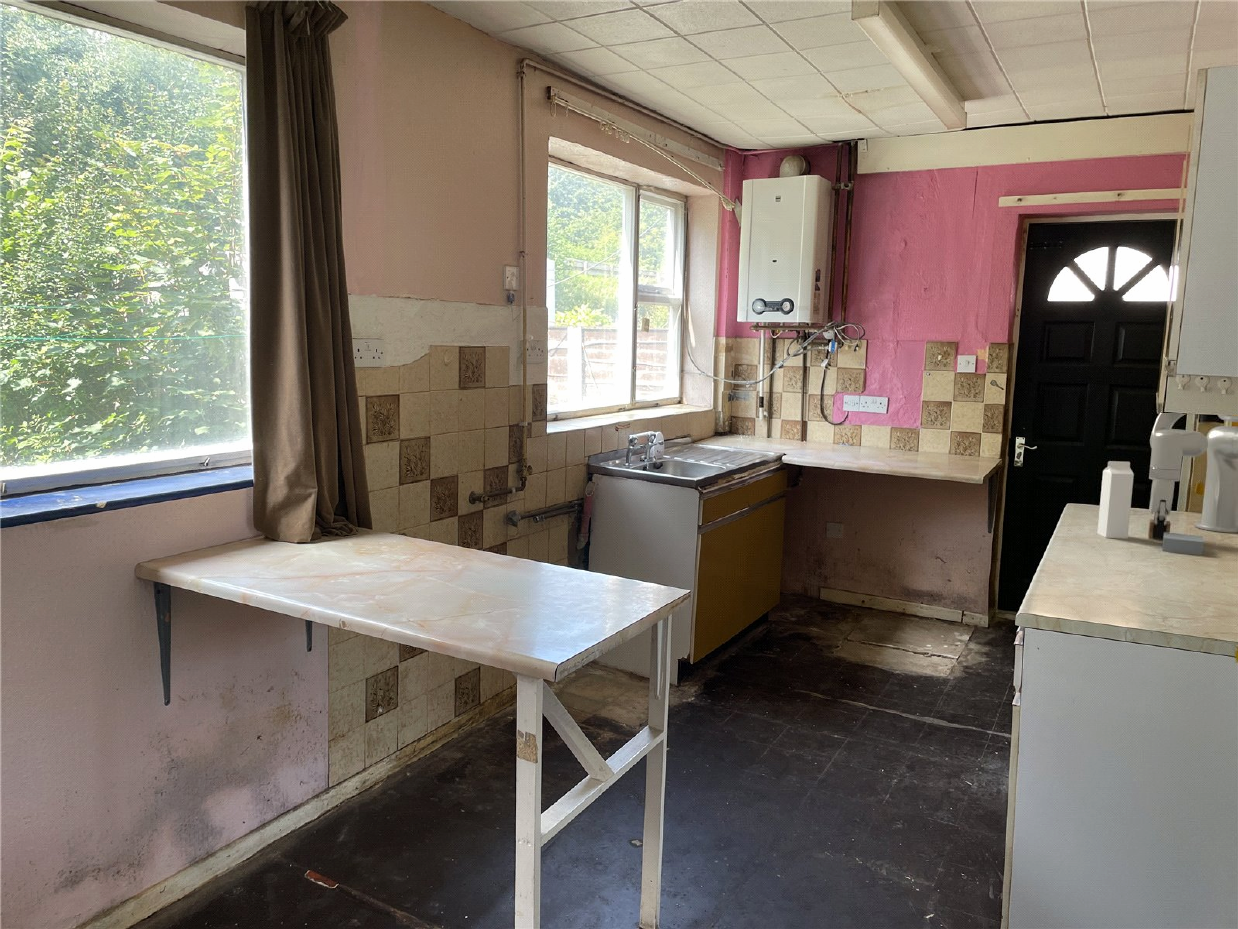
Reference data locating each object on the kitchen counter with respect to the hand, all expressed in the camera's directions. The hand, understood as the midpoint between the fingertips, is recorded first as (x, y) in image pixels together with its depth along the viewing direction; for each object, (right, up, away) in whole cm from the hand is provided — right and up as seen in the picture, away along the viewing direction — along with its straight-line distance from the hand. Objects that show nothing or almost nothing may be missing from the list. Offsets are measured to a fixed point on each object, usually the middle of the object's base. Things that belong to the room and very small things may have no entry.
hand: (1158, 535), depth 253 cm
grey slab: (-3, -3, -15) cm, 16 cm away
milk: (-12, 0, +2) cm, 13 cm away
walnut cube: (0, -1, 0) cm, 1 cm away
